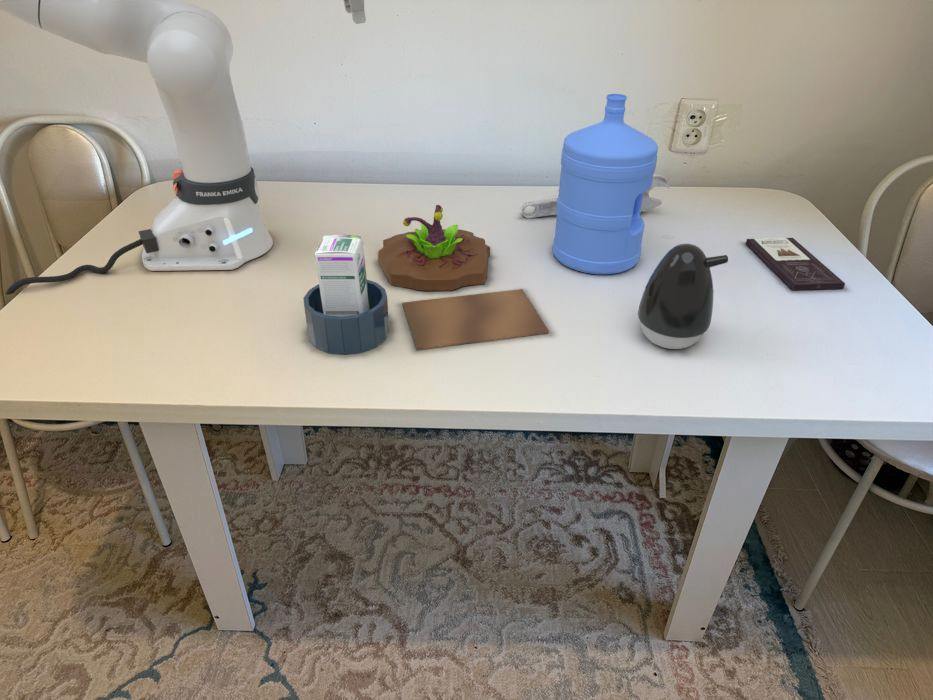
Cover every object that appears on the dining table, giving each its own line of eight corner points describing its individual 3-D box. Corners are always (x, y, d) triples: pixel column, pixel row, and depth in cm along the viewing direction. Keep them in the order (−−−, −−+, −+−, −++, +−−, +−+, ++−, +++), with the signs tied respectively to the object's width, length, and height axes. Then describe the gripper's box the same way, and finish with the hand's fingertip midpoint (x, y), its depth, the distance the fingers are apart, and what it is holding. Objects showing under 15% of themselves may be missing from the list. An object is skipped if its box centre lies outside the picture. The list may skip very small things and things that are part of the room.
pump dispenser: (706, 364, 93) (732, 267, 84) (631, 352, 95) (649, 256, 87) (705, 326, 101) (729, 235, 93) (636, 316, 103) (652, 226, 95)
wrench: (522, 227, 138) (665, 208, 138) (523, 231, 136) (668, 212, 136) (520, 191, 133) (667, 171, 133) (521, 194, 131) (670, 174, 132)
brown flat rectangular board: (416, 350, 95) (416, 347, 95) (402, 305, 106) (402, 302, 105) (548, 333, 99) (548, 330, 99) (522, 291, 110) (522, 289, 109)
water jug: (568, 280, 113) (587, 111, 97) (541, 241, 126) (554, 86, 110) (653, 272, 116) (685, 107, 100) (618, 235, 128) (641, 82, 112)
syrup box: (366, 342, 97) (357, 252, 88) (325, 342, 97) (313, 251, 88) (371, 322, 101) (364, 234, 93) (333, 321, 101) (322, 233, 93)
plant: (381, 295, 108) (377, 232, 102) (376, 244, 124) (372, 186, 117) (502, 288, 110) (505, 225, 104) (482, 238, 126) (483, 181, 120)
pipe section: (310, 359, 93) (305, 323, 90) (307, 316, 102) (302, 282, 99) (394, 348, 95) (392, 313, 92) (383, 307, 105) (380, 274, 101)
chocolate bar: (793, 285, 110) (746, 238, 125) (792, 290, 111) (745, 243, 125) (845, 283, 111) (792, 237, 126) (843, 288, 111) (791, 242, 126)
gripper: (308, -91, 101) (328, 9, 110) (320, -83, 85) (343, 32, 94) (349, -96, 102) (366, 3, 111) (368, -90, 86) (386, 25, 95)
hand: (355, 17), depth 102 cm, fingers open, 8 cm apart
